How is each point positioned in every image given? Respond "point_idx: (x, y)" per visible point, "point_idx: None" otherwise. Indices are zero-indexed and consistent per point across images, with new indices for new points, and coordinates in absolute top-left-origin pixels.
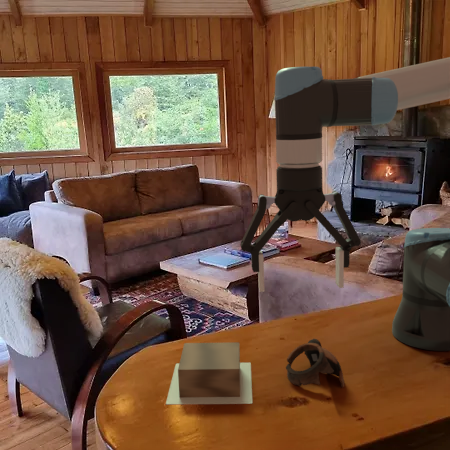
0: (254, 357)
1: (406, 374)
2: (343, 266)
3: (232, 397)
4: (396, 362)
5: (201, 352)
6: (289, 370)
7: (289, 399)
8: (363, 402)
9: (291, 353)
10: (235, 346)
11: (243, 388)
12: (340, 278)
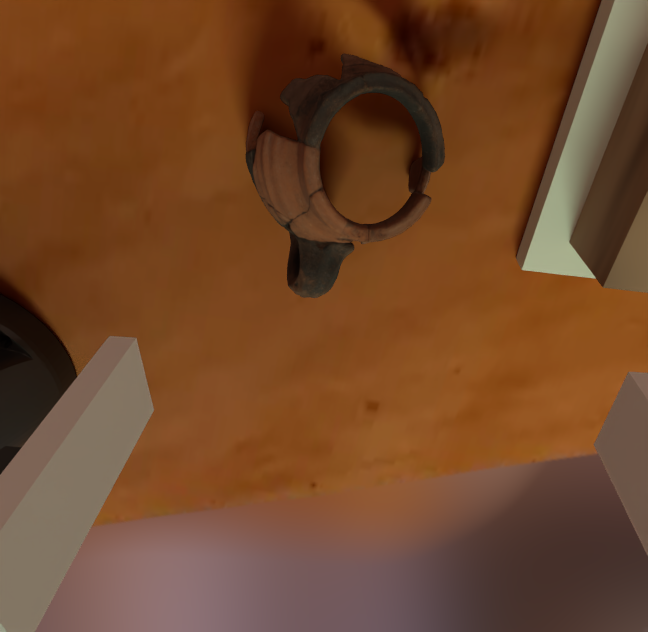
0: (480, 325)
1: (57, 169)
2: (27, 443)
3: None
4: (80, 240)
5: None
6: (438, 133)
7: (449, 55)
8: (208, 5)
9: (411, 218)
10: (633, 256)
11: (612, 98)
12: (99, 377)
